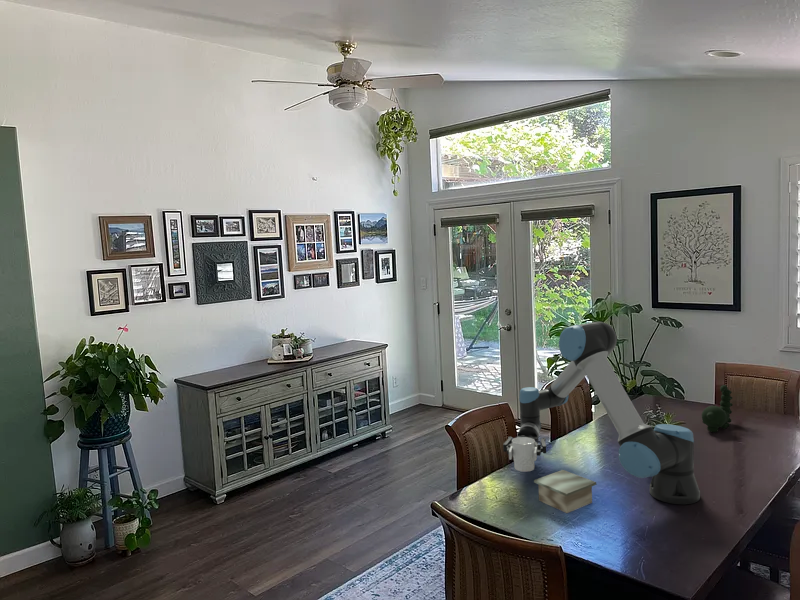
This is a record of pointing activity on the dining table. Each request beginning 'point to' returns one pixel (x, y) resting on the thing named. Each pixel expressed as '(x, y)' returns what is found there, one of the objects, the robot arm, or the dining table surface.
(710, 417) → the green lumpy piece
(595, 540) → the dining table surface
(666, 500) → the robot arm
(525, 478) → the dining table surface
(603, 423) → the dining table surface
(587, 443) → the dining table surface
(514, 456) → the white cup
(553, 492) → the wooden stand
